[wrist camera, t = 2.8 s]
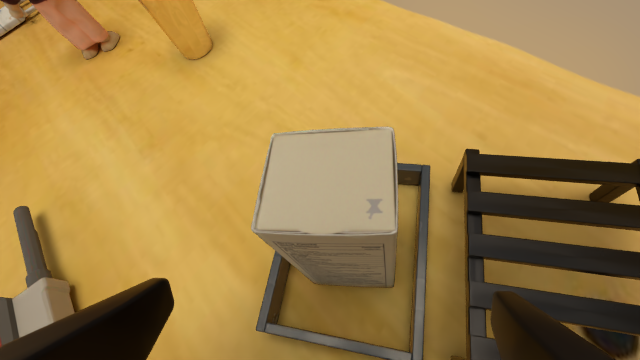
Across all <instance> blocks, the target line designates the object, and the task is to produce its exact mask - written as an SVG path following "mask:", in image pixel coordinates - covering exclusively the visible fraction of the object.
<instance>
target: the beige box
mask: <svg viewBox="0 0 640 360" xmlns="http://www.w3.org/2000/svg"><path fill="white" fill-rule="evenodd" d="M251 229H252V231H253V232H254V233H255V234H256V235H258V236H259V237H260V238H261V239H262V240H263V241H265V242H266V243H267V244H268V245H270V246H271V247H272V248H273V249H274V250H275V251H277V252H278V253H279V254H280V255H281V256H283V257H284V258H285V259H286V260H287V261H288V262H290V263H291V264H292V265H293V266H294V267H296V268H297V269H298V270H299V271H300V272H302V273H303V274H304V275H305V276H306V277H307V278H309V279H310V280H311V281H312V282H313V283H315V284H326V285H339V286H359V287H393V286H394V280H395V264H396V245H397V233H398V173H397V154H396V144H395V133H394V129H393V128H392V127H363V128H340V129H322V130H308V131H293V132H284V133H274V134H273V135H272V137H271V141H270V145H269V150H268V153H267V157H266V161H265V166H264V170H263V174H262V178H261V183H260V187H259V191H258V197H257V201H256V206H255V211H254V216H253V221H252V225H251Z"/></svg>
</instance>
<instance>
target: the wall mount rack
mask: <svg viewBox="0 0 640 360" xmlns="http://www.w3.org/2000/svg"><path fill="white" fill-rule="evenodd" d="M25 1H27V0H21V1H20V2H19V3H18V4H19V5H20V4H22V3H23V2H25ZM19 8H20V9H21V10H22V12H23V14H24V16H23V17H22V18H19V19H17V18H14V17H12V16H11V15H10V13H9V9H8V8H6V6H4V7H2V8H1V9H0V36H2V35H3V34H5V33H6V32H8V31H9V30H11V29H12V28H14V27H16V26H17V25H19V24H20V23H22V22H23V21H25V17H27V16H28V15H30V14H31V13H33V12H34V11H35V10H37V9H36V8H35V7H34V6H33V5H32V6H31V7H30V8H28V9H27V10H25V11H24V10H23V9H22V8H21V7H20V6H19Z"/></svg>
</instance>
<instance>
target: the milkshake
mask: <svg viewBox="0 0 640 360" xmlns="http://www.w3.org/2000/svg"><path fill="white" fill-rule="evenodd" d="M138 1H139V2H140V3H141V4H142V5H143V7H144V8H145V9H146V10H147V11H148V13H149V14H150V15H151V16H152V18H153V19H154V20H155V21H156V23H157V24H158V25H159V26H160V28H161V29H162V30H163V31H164V33H165V34H166V35H167V36H168V37H169V39H170V40H171V41H172V42H173V44H174V45H175V46H176V47H177V49H178V50H179V51H180V52H181V54H182V55H183V56H185V57H186V58H188V59H199V58H200V57H202V56H204V55H206V54H207V53H208V52H209V51H210V49H211V48H212V40H211V38H210V36H209V33H208V31H207V29H206V27H205V25H204V23H203V21H202V19H201V16H200V14H199V12H198V10H197V8H196V6H195V4H194V1H193V0H138Z"/></svg>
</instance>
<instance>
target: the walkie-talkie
mask: <svg viewBox="0 0 640 360" xmlns="http://www.w3.org/2000/svg"><path fill="white" fill-rule="evenodd" d="M13 214H14V218H15V222H16V227H17V231H18V235H19V240H20V244H21V248H22V252H23V257H24V261H25V265H26V270H27V274H28V276H27V277H26V283H27V289H26V290H25V291H23V292H22V293H20V294H19V295H18V296H16V297H14V298H4V297H0V347H1V346H3V345H4V344H7V343H9V342H11V341H13V340H16V339H18V338H20V337H22V336H25V335H27V334H29V333H31V332H33V331H36V330H38V329H40V328H42V327H45V326H47V325H49V324H51V323H53V322H56V321H58V320H60V319H62V318H65V317H67V316H69V315H71V314H74V313H75V312H74V309H73V305H72V302H71V298H70V295H69V293H70V287H69V284H68V282H67V281H63V280H58V279H53V278H52V275H51V271H50V270H47V266H46V263H45V259H44V255H43V251H42V248H41V244H40V240H39V237H38V233H37V231H36V230H35V228H34V225H33V221H32V218H31V214H30V211H29V207H27V206H19V207H17V208H16V209H15V210H14V212H13Z"/></svg>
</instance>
